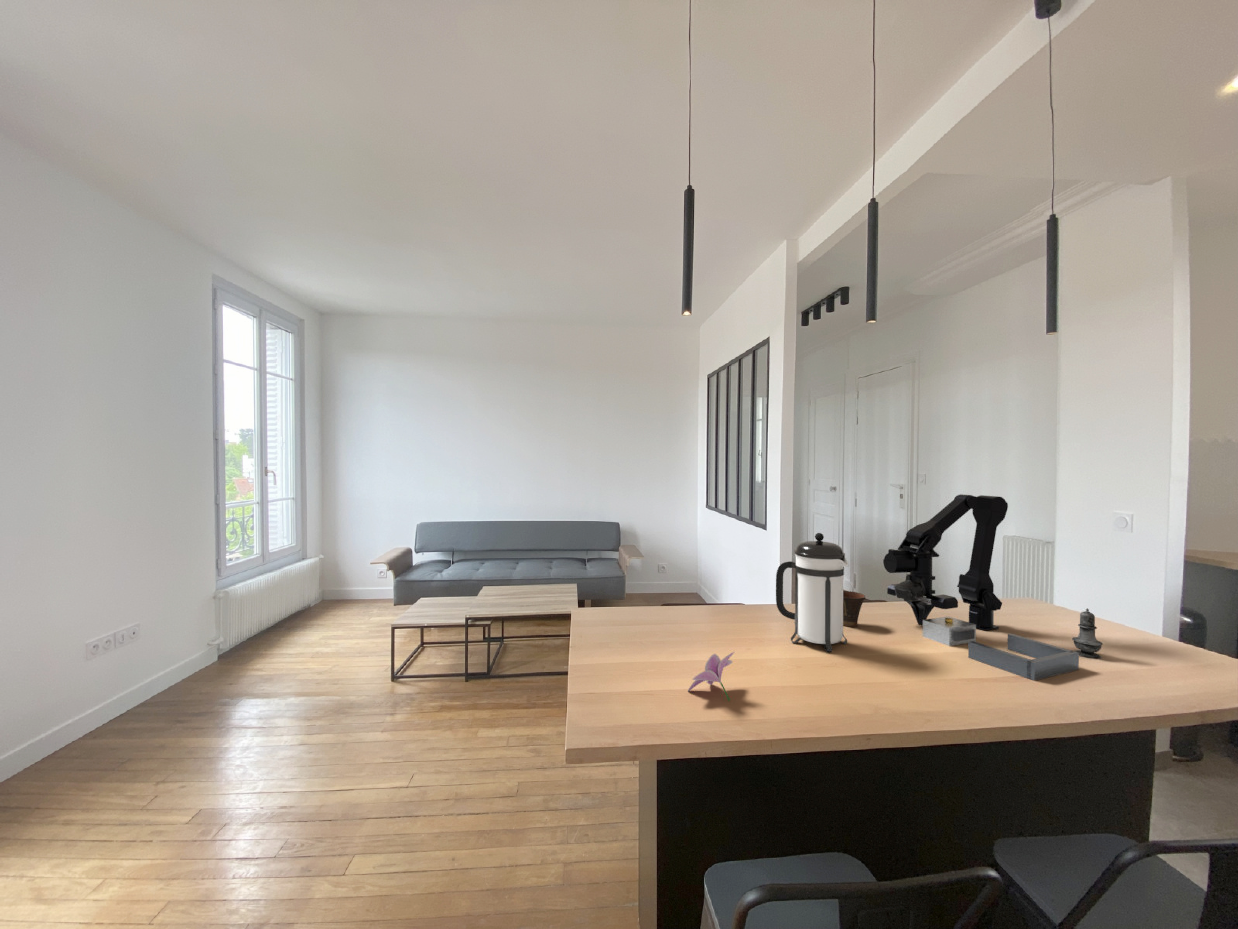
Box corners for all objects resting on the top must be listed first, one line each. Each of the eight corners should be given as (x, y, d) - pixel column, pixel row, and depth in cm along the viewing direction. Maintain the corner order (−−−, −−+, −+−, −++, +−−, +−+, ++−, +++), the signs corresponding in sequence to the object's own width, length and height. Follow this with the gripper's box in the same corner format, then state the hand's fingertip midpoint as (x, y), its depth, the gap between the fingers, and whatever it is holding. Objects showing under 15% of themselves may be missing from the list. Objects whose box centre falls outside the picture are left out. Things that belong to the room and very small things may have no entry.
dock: (1011, 648, 135) (1011, 633, 135) (1078, 669, 121) (1078, 652, 121) (968, 657, 129) (968, 641, 129) (1034, 680, 115) (1034, 663, 115)
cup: (875, 627, 150) (869, 593, 150) (844, 631, 150) (839, 597, 150) (861, 619, 158) (856, 587, 159) (832, 623, 159) (827, 591, 159)
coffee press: (836, 633, 146) (837, 529, 146) (857, 654, 130) (857, 537, 130) (775, 631, 148) (775, 528, 148) (787, 651, 132) (788, 536, 132)
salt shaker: (1075, 656, 130) (1076, 609, 130) (1068, 649, 135) (1068, 604, 135) (1106, 661, 127) (1107, 612, 127) (1098, 653, 132) (1098, 607, 132)
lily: (741, 689, 113) (722, 646, 116) (760, 690, 102) (739, 642, 105) (693, 711, 110) (675, 667, 113) (707, 715, 99) (687, 665, 102)
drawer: (948, 633, 148) (948, 613, 148) (978, 643, 139) (978, 621, 139) (922, 637, 144) (922, 616, 144) (951, 648, 136) (951, 625, 136)
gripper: (874, 567, 156) (873, 619, 156) (931, 581, 138) (931, 638, 138) (900, 565, 160) (900, 615, 160) (959, 577, 142) (959, 633, 142)
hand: (920, 624), depth 150 cm, fingers closed
